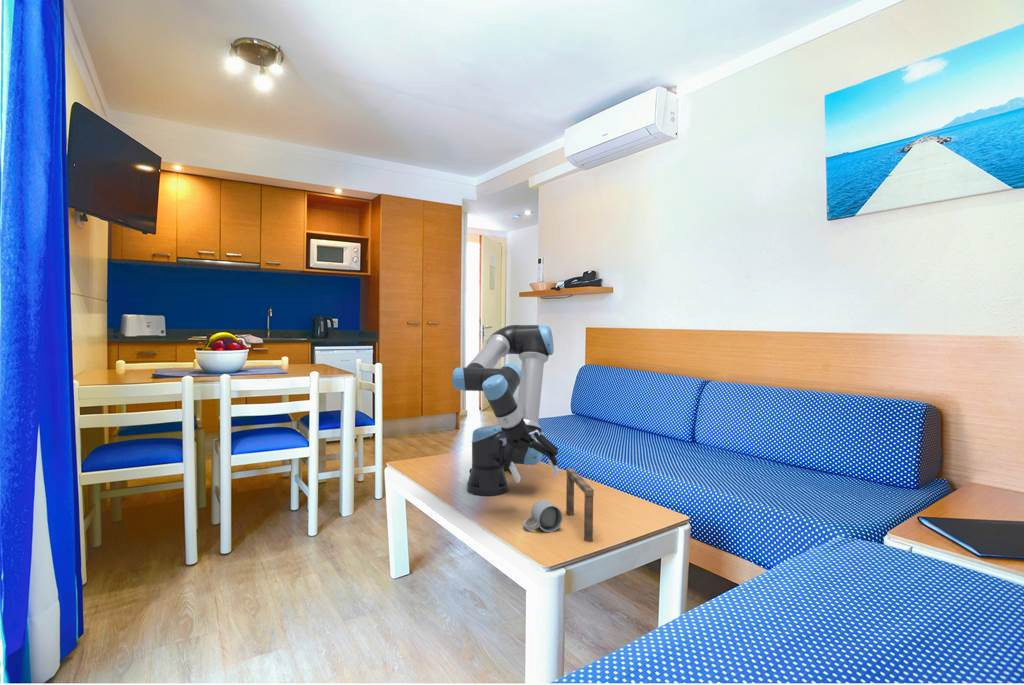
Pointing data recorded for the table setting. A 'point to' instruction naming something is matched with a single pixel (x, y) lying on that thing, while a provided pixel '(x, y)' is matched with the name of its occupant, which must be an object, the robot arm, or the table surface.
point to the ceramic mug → (544, 517)
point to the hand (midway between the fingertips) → (537, 477)
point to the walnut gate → (588, 504)
